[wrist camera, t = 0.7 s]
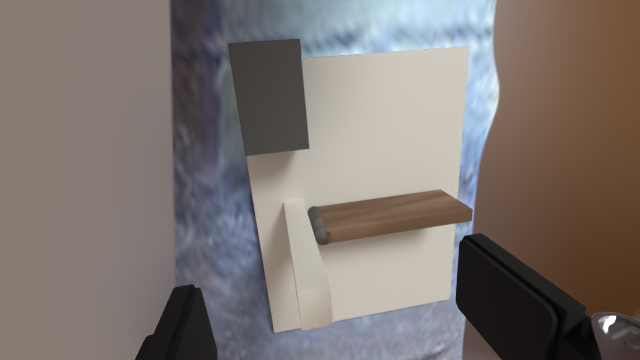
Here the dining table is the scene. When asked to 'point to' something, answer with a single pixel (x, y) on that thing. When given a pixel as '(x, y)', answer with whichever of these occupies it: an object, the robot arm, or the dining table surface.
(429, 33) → the dining table surface
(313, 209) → the wooden slat
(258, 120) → the block
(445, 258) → the cream base with post
